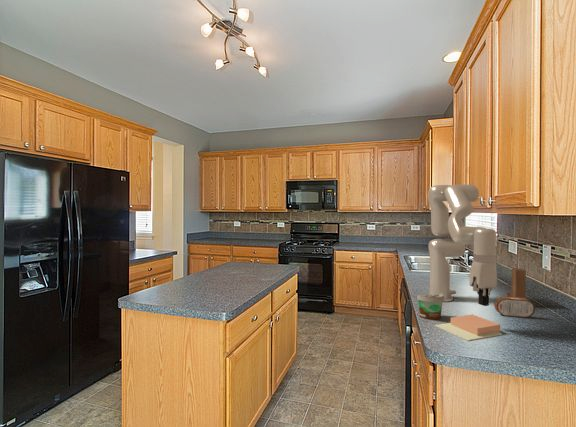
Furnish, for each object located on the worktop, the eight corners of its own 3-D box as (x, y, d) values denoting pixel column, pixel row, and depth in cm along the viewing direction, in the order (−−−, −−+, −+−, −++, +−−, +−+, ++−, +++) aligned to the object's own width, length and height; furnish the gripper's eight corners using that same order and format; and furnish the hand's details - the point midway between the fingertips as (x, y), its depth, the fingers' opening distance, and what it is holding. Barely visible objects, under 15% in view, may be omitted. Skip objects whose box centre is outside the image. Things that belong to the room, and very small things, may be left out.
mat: (467, 320, 132) (467, 320, 132) (502, 334, 118) (502, 333, 118) (435, 326, 126) (435, 325, 126) (468, 341, 112) (468, 340, 112)
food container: (426, 322, 130) (426, 298, 130) (416, 317, 136) (416, 294, 136) (450, 319, 133) (451, 296, 133) (440, 314, 139) (440, 292, 139)
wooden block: (506, 301, 161) (507, 266, 160) (516, 301, 159) (517, 266, 159) (514, 306, 152) (515, 269, 152) (525, 307, 151) (526, 270, 150)
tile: (472, 314, 131) (450, 317, 126) (500, 324, 119) (477, 328, 115) (472, 320, 131) (450, 324, 126) (500, 331, 119) (477, 335, 115)
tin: (532, 316, 138) (532, 297, 137) (536, 319, 134) (536, 299, 134) (493, 313, 141) (494, 295, 141) (496, 315, 138) (496, 297, 138)
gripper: (488, 257, 130) (487, 300, 130) (462, 258, 125) (461, 304, 125) (506, 259, 123) (505, 305, 123) (479, 261, 118) (478, 309, 118)
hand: (483, 304), depth 124 cm, fingers closed
